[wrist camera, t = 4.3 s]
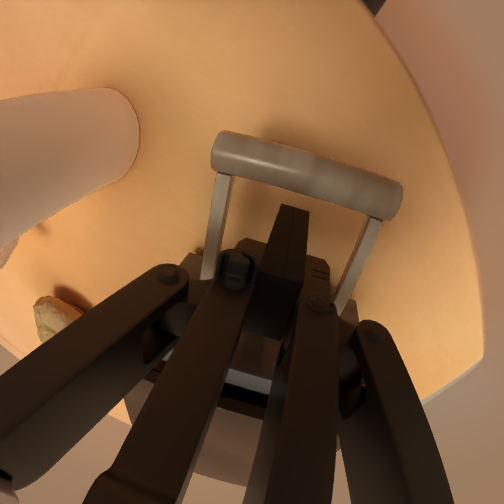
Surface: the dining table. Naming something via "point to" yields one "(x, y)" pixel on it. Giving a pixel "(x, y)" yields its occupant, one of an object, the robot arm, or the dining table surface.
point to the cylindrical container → (60, 152)
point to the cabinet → (218, 434)
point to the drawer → (304, 182)
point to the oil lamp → (53, 316)
